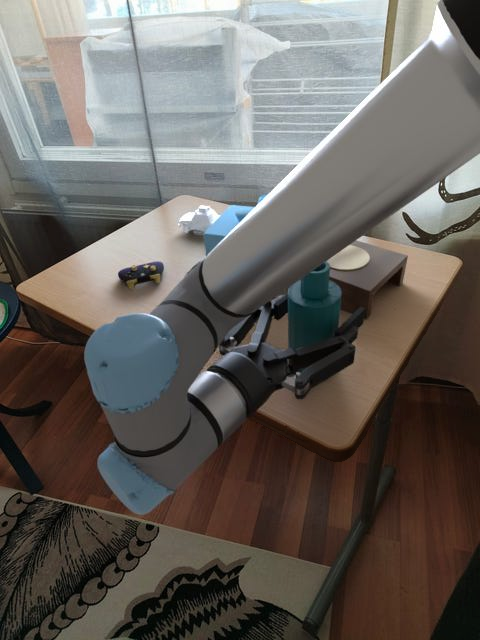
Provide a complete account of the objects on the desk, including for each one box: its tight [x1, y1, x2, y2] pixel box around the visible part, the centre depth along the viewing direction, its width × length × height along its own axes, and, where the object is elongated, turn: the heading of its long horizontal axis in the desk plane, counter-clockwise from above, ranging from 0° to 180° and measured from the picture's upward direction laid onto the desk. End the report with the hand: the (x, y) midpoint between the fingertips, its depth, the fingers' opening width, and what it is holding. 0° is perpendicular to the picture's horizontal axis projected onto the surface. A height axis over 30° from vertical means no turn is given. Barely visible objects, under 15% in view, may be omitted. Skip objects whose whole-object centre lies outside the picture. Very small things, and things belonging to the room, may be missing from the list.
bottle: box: [287, 261, 342, 377], centre depth 59 cm, size 7×7×18 cm
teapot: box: [202, 193, 269, 257], centre depth 84 cm, size 22×11×14 cm, turn 158°
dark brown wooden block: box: [300, 239, 409, 320], centre depth 80 cm, size 18×14×6 cm
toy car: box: [178, 205, 221, 236], centre depth 102 cm, size 6×12×7 cm, turn 67°
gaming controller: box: [117, 260, 165, 290], centre depth 88 cm, size 10×5×6 cm
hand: (330, 302), depth 62 cm, fingers open, 9 cm apart
